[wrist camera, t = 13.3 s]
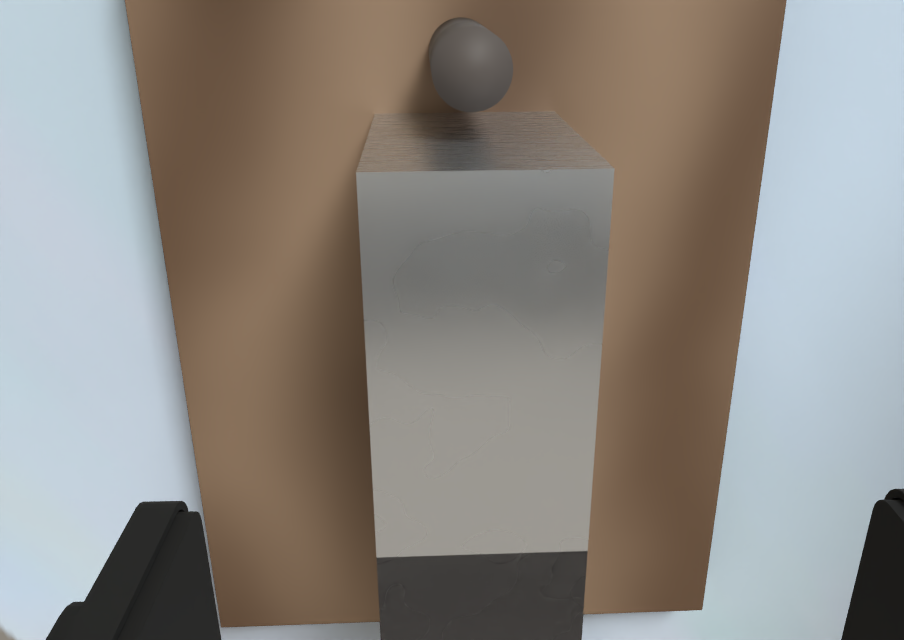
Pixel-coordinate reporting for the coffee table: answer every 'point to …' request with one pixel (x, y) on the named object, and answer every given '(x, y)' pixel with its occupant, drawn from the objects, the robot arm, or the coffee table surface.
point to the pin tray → (339, 262)
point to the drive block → (482, 368)
